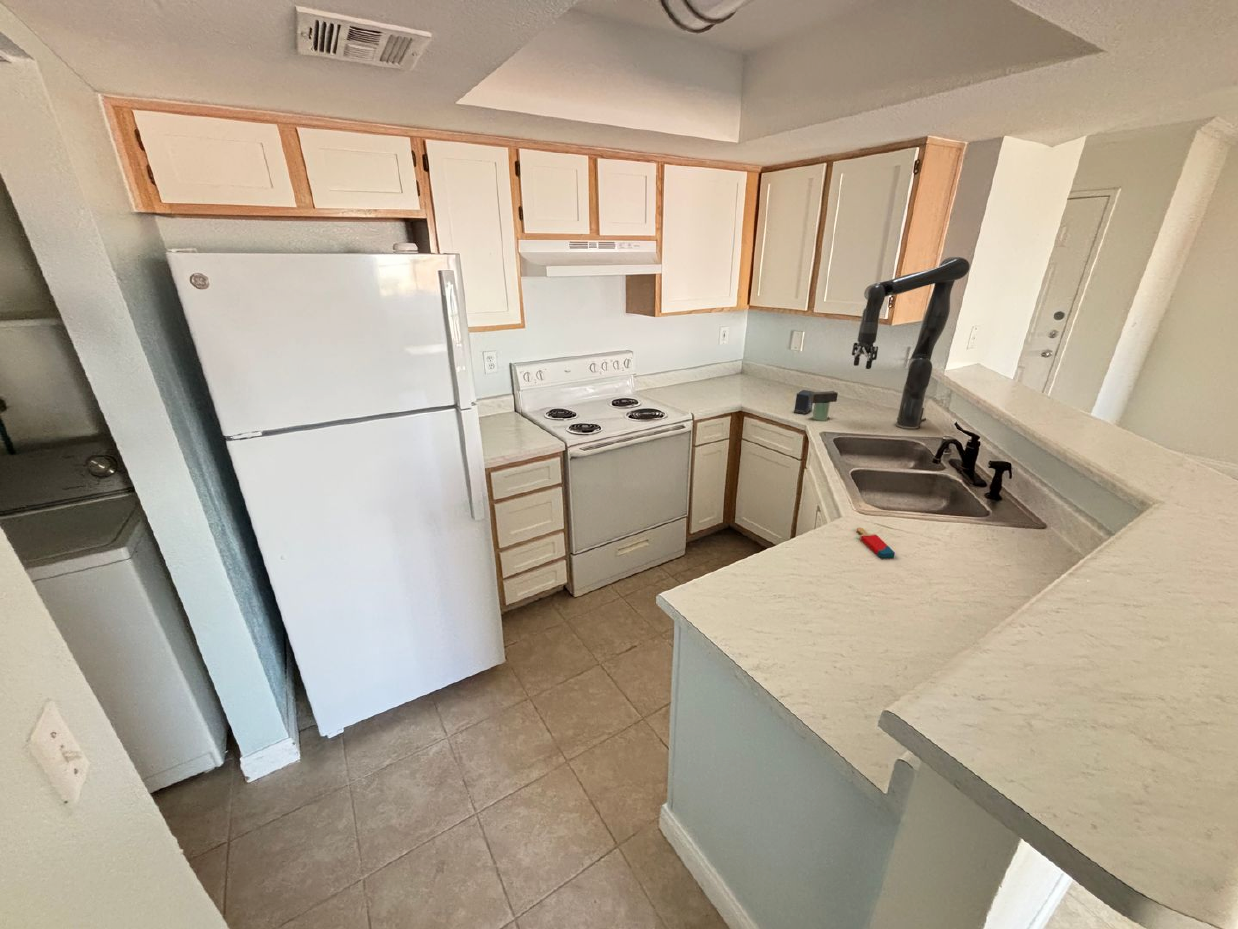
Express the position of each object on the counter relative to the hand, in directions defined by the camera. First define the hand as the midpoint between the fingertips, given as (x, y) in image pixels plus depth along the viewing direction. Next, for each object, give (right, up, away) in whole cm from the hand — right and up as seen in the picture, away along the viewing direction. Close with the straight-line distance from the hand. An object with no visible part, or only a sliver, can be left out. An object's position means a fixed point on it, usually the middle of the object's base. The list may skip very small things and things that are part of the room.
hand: (861, 367), depth 233 cm
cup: (-11, -22, +21) cm, 32 cm away
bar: (-11, -14, +17) cm, 25 cm away
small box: (-15, -17, +33) cm, 40 cm away
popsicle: (-42, -68, -92) cm, 121 cm away
